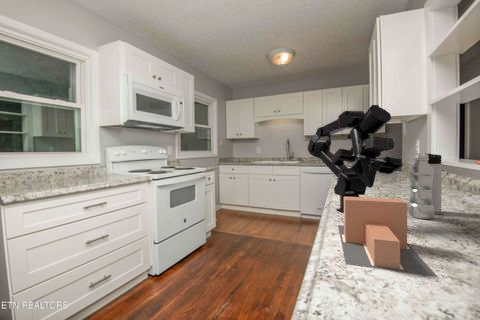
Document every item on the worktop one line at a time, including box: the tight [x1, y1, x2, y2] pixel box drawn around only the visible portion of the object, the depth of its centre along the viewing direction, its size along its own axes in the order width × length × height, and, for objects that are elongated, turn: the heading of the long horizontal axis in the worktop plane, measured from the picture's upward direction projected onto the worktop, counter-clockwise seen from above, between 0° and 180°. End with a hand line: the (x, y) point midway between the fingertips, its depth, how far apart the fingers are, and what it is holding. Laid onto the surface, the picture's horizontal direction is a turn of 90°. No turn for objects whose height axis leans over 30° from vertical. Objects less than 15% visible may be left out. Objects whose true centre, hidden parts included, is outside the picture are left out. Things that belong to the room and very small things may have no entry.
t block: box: [343, 196, 408, 269], centre depth 47 cm, size 14×12×10 cm
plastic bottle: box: [407, 153, 435, 220], centre depth 69 cm, size 6×7×20 cm
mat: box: [337, 224, 439, 278], centre depth 50 cm, size 24×14×1 cm, turn 160°
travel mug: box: [427, 153, 443, 216], centre depth 76 cm, size 6×7×20 cm
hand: (370, 187), depth 62 cm, fingers closed
